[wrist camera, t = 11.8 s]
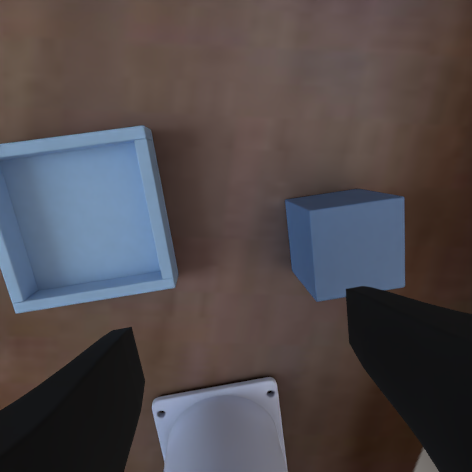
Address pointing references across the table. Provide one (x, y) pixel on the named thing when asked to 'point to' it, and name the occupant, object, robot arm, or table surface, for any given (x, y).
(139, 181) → the blue tray
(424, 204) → the table surface
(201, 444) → the robot arm
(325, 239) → the blue block
